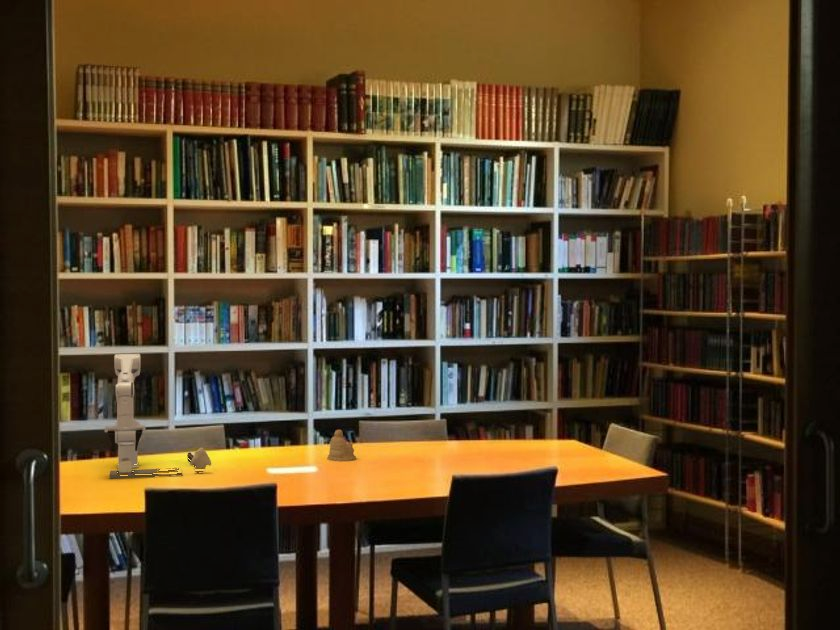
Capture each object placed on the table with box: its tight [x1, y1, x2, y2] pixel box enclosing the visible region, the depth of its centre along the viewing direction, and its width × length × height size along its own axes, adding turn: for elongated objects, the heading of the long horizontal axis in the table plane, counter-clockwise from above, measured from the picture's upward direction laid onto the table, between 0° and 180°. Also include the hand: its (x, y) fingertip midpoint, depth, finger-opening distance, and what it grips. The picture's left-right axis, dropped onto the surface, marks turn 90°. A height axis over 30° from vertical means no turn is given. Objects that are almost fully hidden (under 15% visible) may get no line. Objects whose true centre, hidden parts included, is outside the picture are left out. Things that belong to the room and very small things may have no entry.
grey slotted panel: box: [109, 467, 183, 480], centre depth 399 cm, size 8×26×2 cm, turn 104°
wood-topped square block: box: [118, 458, 133, 474], centre depth 397 cm, size 4×4×6 cm
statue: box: [327, 429, 357, 463], centre depth 435 cm, size 12×14×10 cm
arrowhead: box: [189, 447, 212, 473], centre depth 404 cm, size 8×3×10 cm, turn 104°
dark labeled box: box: [186, 451, 197, 466], centre depth 422 cm, size 14×25×4 cm, turn 22°
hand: (125, 450), depth 395 cm, fingers open, 7 cm apart
